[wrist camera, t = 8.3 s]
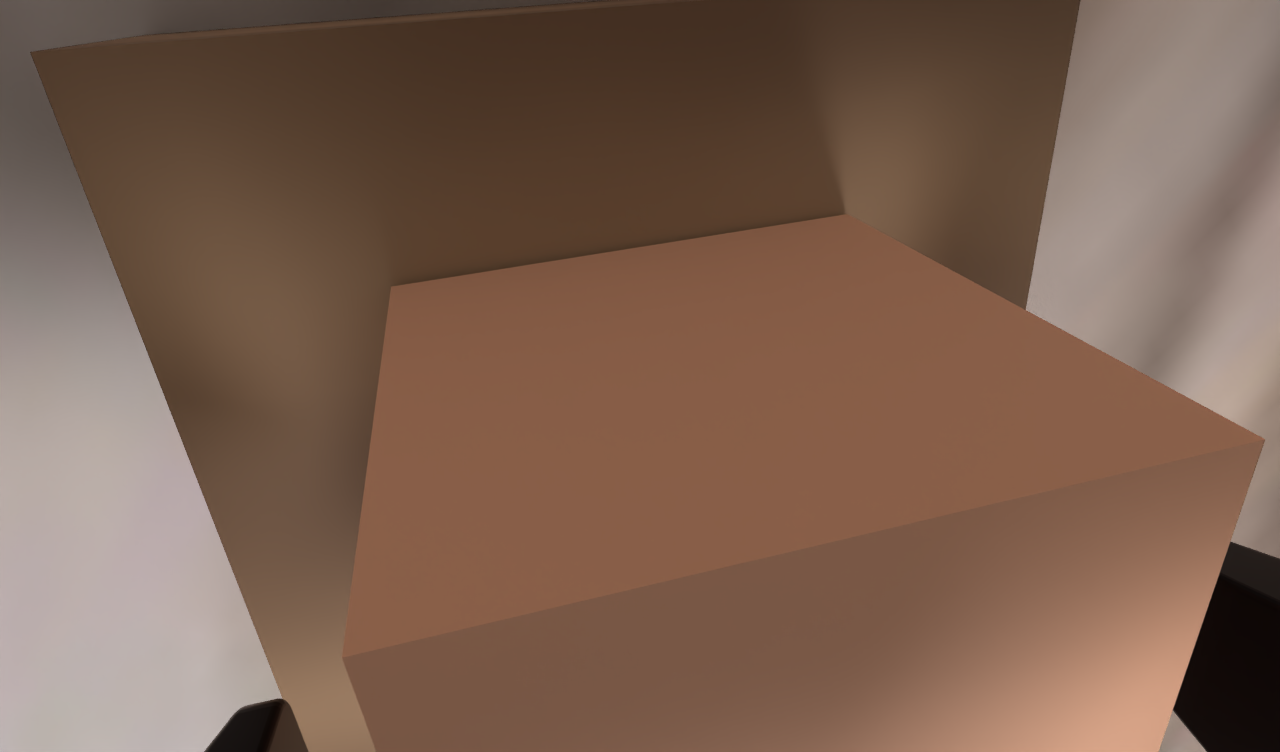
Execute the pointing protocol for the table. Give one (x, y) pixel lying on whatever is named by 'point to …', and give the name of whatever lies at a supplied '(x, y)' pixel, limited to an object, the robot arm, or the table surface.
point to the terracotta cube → (774, 511)
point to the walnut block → (501, 208)
